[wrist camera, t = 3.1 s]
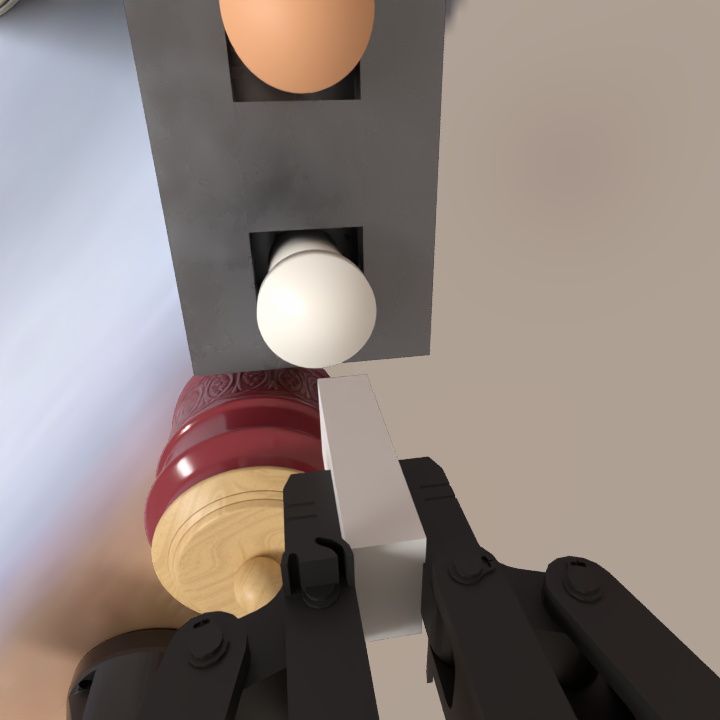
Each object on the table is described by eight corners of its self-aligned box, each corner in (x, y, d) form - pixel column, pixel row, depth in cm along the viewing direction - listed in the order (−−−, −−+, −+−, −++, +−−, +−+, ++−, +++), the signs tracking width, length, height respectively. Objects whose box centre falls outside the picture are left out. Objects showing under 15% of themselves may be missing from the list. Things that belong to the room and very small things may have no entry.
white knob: (350, 301, 33) (376, 362, 25) (264, 308, 33) (263, 373, 24) (347, 215, 31) (376, 252, 23) (254, 219, 30) (250, 260, 22)
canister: (326, 322, 38) (367, 472, 22) (356, 458, 44) (406, 652, 28) (151, 361, 37) (66, 547, 21) (207, 495, 43) (172, 716, 27)
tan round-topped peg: (343, 97, 28) (374, 91, 20) (241, 99, 27) (230, 94, 19) (340, -28, 26) (373, -93, 17) (227, -29, 25) (207, -98, 17)
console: (399, 309, 38) (429, 354, 31) (208, 324, 36) (194, 376, 29) (405, -60, 28) (451, -118, 21) (144, -66, 26) (98, -132, 19)
